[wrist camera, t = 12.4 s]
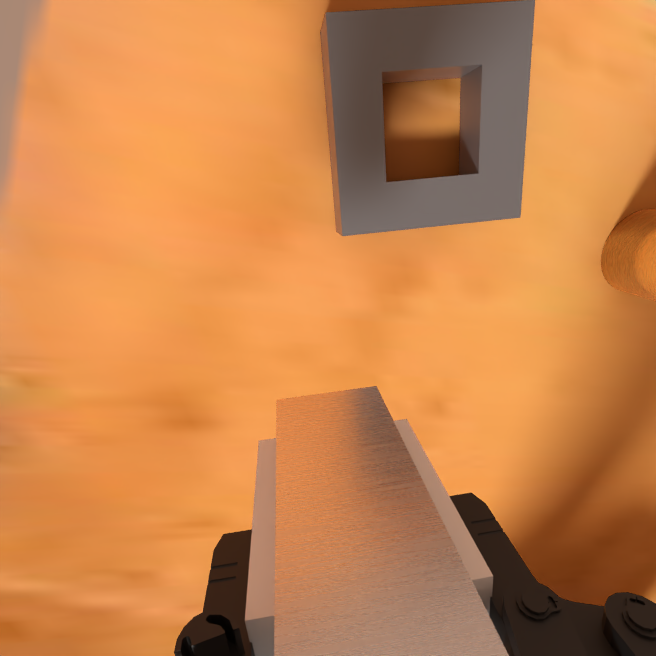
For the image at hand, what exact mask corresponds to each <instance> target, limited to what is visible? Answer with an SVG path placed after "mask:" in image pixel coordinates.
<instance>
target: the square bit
mask: <svg viewBox="0 0 656 656" xmlns="http://www.w3.org/2000/svg"><path fill="white" fill-rule="evenodd" d="M274 656H509V655H508V653H507V651H506V649H505V647H504V645H503V643H502V641H501V639H500V637H499V635H498V633H497V631H496V629H495V627H494V625H493V622H492V620H491V618H490V616H489V614H488V612H487V610H486V608H485V606H484V604H483V602H482V600H481V598H480V596H479V594H478V592H477V590H476V588H475V586H474V584H473V582H472V580H471V578H470V576H469V574H468V572H467V570H466V568H465V566H464V563H463V561H462V559H461V557H460V555H459V553H458V551H457V549H456V547H455V545H454V543H453V541H452V539H451V537H450V535H449V533H448V531H447V529H446V527H445V525H444V523H443V521H442V519H441V517H440V515H439V513H438V511H437V509H436V506H435V504H434V502H433V500H432V498H431V496H430V494H429V492H428V490H427V488H426V486H425V484H424V482H423V480H422V478H421V476H420V474H419V472H418V470H417V468H416V466H415V464H414V462H413V460H412V458H411V456H410V454H409V452H408V450H407V447H406V445H405V443H404V441H403V439H402V437H401V435H400V433H399V431H398V429H397V427H396V425H395V423H394V421H393V419H392V417H391V415H390V413H389V411H388V409H387V407H386V405H385V403H384V401H383V399H382V397H381V395H380V393H379V391H378V388H377V386H373V387H366V388H359V389H352V390H345V391H337V392H330V393H323V394H316V395H309V396H302V397H294V398H287V399H280V400H277V427H276V524H275V621H274Z"/></svg>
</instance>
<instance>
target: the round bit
mask: <svg viewBox="0 0 656 656" xmlns="http://www.w3.org/2000/svg"><path fill="white" fill-rule="evenodd" d="M601 267H602V272H603V275H604V277H605V279H606V280H607V282H608V283H609V284H610V285H611V286H612V287H614V288H615V289H618V290H620V291H624V292H627V293H630V294H634V295H637V296H640V297H644V298H647V299H650V300H654V301H656V209H645V210H641V211H638V212H635V213H633V214H631V215H629V216H628V217H626V218H625V219H623V220H622V221H621V222H620V223H619V224H618V225H617V226H616V227H615V228H614V229H613V231H612V232H611V233H610V235H609V237H608V238H607V240H606V243H605V245H604V248H603V251H602V256H601Z"/></svg>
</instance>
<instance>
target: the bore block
mask: <svg viewBox="0 0 656 656" xmlns="http://www.w3.org/2000/svg"><path fill="white" fill-rule="evenodd" d="M534 7H535V0H523V1H507V2H490V3H474V4H458V5H441V6H425V7H409V8H392V9H376V10H360V11H343V12H327V13H325V17H324V20H323V24H322V28H321V32H320V35H321V47H322V60H323V72H324V85H325V97H326V110H327V122H328V135H329V147H330V160H331V172H332V184H333V197H334V209H335V222H336V232H338V233H339V234H340V235H342V236H348V235H357V234H367V233H377V232H386V231H396V230H405V229H415V228H424V227H434V226H444V225H453V224H463V223H472V222H482V221H491V220H501V219H510V218H520V216H521V201H522V186H523V171H524V156H525V141H526V126H527V111H528V97H529V82H530V67H531V52H532V37H533V22H534ZM449 78H461V91H460V148H459V175H454V176H443V177H433V178H422V179H412V180H401V181H390V182H386V164H385V138H384V112H383V86H382V84H383V83H396V82H409V81H422V80H435V79H449Z"/></svg>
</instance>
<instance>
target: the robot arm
mask: <svg viewBox="0 0 656 656" xmlns="http://www.w3.org/2000/svg"><path fill="white" fill-rule="evenodd" d="M394 423H395V425H396V427H397V429H398V431H399V433H400V435H401V437H402V439H403V441H404V443H405V445H406V447H407V450H408V452H409V454H410V456H411V458H412V460H413V462H414V464H415V466H416V468H417V470H418V472H419V474H420V476H421V478H422V480H423V482H424V484H425V486H426V488H427V490H428V492H429V494H430V496H431V498H432V500H433V502H434V504H435V506H436V509H437V511H438V513H439V515H440V517H441V519H442V521H443V523H444V525H445V527H446V529H447V531H448V533H449V535H450V537H451V539H452V541H453V543H454V545H455V547H456V549H457V551H458V553H459V555H460V557H461V559H462V561H463V563H464V566H465V568H466V570H467V572H468V574H469V576H470V578H471V580H472V582H473V584H474V586H475V588H476V590H477V592H478V594H479V596H480V598H481V600H482V602H483V604H484V606H485V608H486V610H487V612H488V614H489V616H490V618H491V620H492V622H493V625H494V627H495V629H496V631H497V633H498V635H499V637H500V639H501V641H502V643H503V645H504V647H505V649H506V651H507V653H508V655H509V656H656V604H655V603H654V602H652V601H650V600H648V599H646V598H644V597H642V596H639V595H636V594H632V593H628V592H626V593H615V594H613V595H611V596H609V597H608V599H607V601H606V603H605V606H598V605H591V604H584V603H577V602H572V601H568V600H565V599H562V598H560V597H558V595H556V594H555V593H554V592H553V591H552V590H550V589H549V588H548V587H547V586H544V585H542V584H540V583H538V582H537V580H536V579H535V578H534V577H533V575H532V574H531V572H530V571H529V569H528V568H527V566H526V564H525V563H524V561H523V560H522V558H521V557H520V555H519V554H518V552H517V551H516V549H515V548H514V546H513V545H512V543H511V542H510V540H509V538H508V537H507V535H506V534H505V532H503V529H502V528H501V526H500V525H499V523H498V522H497V521H496V520H495V517H494V516H493V514H492V513H491V511H490V509H489V508H488V506H487V505H486V504H485V503H484V502H483V501H482V500H480V499H479V498H478V497H476V496H475V495H474V494H472V493H467V494H460V495H454V496H449V495H448V493H447V491H446V490H445V488H444V486H443V484H442V482H441V480H440V479H439V477H438V475H437V473H436V471H435V470H434V468H433V466H432V464H431V462H430V461H429V459H428V457H427V455H426V453H425V451H424V450H423V448H422V446H421V444H420V442H419V441H418V439H417V437H416V435H415V433H414V432H413V430H412V428H411V426H410V424H409V422H408V421H407V419H404V420H397V421H394ZM275 524H276V438H274V439H267V440H261V441H259V446H258V459H257V472H256V484H255V497H254V510H253V522H252V530H246V531H240V532H234V533H228V534H223V536H222V537H221V539H220V541H219V542H218V544H217V546H216V547H215V549H214V552H213V558H212V563H211V570H210V574H209V580H208V586H207V591H206V597H205V602H204V608H203V613H201V614H199V615H197V616H195V617H194V618H193V619H192V620H191V621H190V622H189V623H188V624H187V625H186V626H185V627H184V628H183V630H182V632H181V633H180V635H179V637H178V638H177V642H176V646H175V651H174V654H175V656H274V621H275Z"/></svg>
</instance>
